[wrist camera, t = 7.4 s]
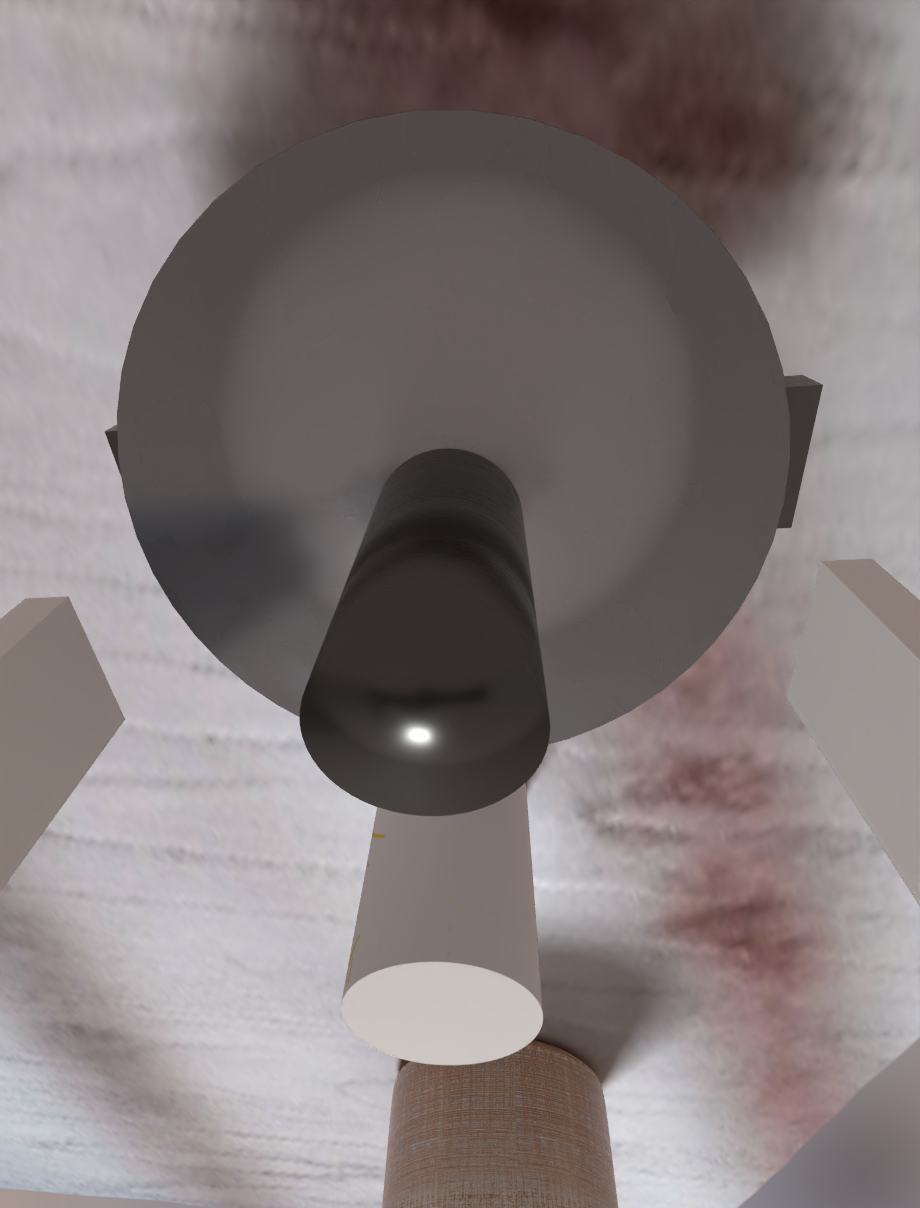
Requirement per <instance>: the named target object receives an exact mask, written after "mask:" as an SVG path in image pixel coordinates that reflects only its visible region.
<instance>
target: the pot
mask: <svg viewBox="0 0 920 1208" xmlns="http://www.w3.org/2000/svg"><path fill="white" fill-rule="evenodd" d="M784 382H785V388H786V395H787V401H788V408H789V414H790V461H789V469H788V476H787V483H786V491H785V498H784V504H783V507H782V511H781V514H780V518H779V521H778V525H777V528H791V526H792V522H793V517H794V513H795V508H796V504H797V499H798V495H799V490H800V486H801V481H802V477H803V472H804V468H805V463H806V459H807V454H808V450H809V445H810V441H811V436H812V432H813V427H814V423H815V418H816V414H817V409H818V405H819V400H820V396H821V391H822V387H823V385H822V384H820V383H818V382H816V381H814V380H812V379H810V378H808V377H806V376H803V375H796V376H784ZM105 434H106V436H107V439H108V442H109V444H110V447H111V450H112V453H113V455H114V458H115V461H116V463H117V466H118V469H119V472H120V474H121V470H120V464H119V459H118V430H117V425H116V426H114V427H112V428H110V429H108V430H107V431H105ZM121 477H122V476H121Z"/></svg>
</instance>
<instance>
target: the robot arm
mask: <svg viewBox="0 0 920 1208" xmlns="http://www.w3.org/2000/svg"><path fill="white" fill-rule="evenodd" d="M787 699H788V700H789V702H790V704H791V705H792V707H793V708H794V710H795V711H796V713H797V715H798V716H799V718H800V719H801V721H802V722H803V724H804V726H805V727H806V729H807V730H808V732H809V733H810V735H811V737H812V738H813V740H814V741H815V743H816V744H817V746H818V748H819V749H820V751H821V752H822V754H823V755H824V757H825V758H826V760H827V762H828V763H829V765H830V766H831V768H832V769H833V771H834V773H835V774H836V776H837V777H838V779H839V780H840V782H841V784H842V785H843V787H844V788H845V790H846V791H847V793H848V795H849V796H850V798H851V799H852V801H853V802H854V804H855V806H856V807H857V809H858V810H859V812H860V813H861V815H862V816H863V818H864V820H865V821H866V823H867V824H868V826H869V827H870V829H871V831H872V832H873V834H874V835H875V837H876V838H877V840H878V842H879V843H880V845H881V846H882V848H883V849H884V851H885V853H886V854H887V856H888V857H889V859H890V860H891V862H892V864H893V865H894V867H895V868H896V870H897V871H898V873H899V875H900V876H901V878H902V879H903V881H904V882H905V884H906V885H907V887H908V889H909V890H910V892H911V893H912V895H913V896H914V898H915V900H916V901H917V903H918V904H919V906H920V600H919V599H918V598H917V597H916V596H914V595H913V594H912V593H911V592H910V591H909V590H907V589H906V588H905V587H904V586H903V585H902V584H900V583H899V582H898V581H897V580H896V579H895V578H894V577H892V576H891V575H890V574H889V573H888V572H887V571H885V570H884V569H883V568H882V567H881V566H880V565H879V564H877V563H876V562H875V561H874V560H873V559H857V560H836V561H821V564H820V568H819V572H818V576H817V580H816V584H815V588H814V592H813V595H812V599H811V603H810V607H809V611H808V615H807V619H806V623H805V627H804V631H803V634H802V638H801V642H800V646H799V650H798V654H797V658H796V662H795V666H794V669H793V673H792V677H791V681H790V685H789V689H788V693H787ZM124 720H125V718H124V716H123V714H122V712H121V709H120V707H119V705H118V703H117V701H116V699H115V696H114V694H113V692H112V690H111V688H110V686H109V684H108V681H107V679H106V677H105V675H104V673H103V671H102V668H101V666H100V664H99V662H98V660H97V658H96V655H95V653H94V651H93V649H92V647H91V645H90V642H89V640H88V638H87V636H86V634H85V632H84V629H83V627H82V625H81V623H80V621H79V619H78V616H77V614H76V612H75V610H74V608H73V606H72V603H71V601H70V599H69V597H51V598H29V599H25V600H23V601H22V602H21V603H20V604H18V605H17V606H16V607H15V608H14V609H12V610H11V611H10V612H9V613H7V614H6V615H5V616H4V617H3V618H1V619H0V891H1V890H2V889H3V887H4V886H5V884H6V883H7V882H8V880H9V879H10V877H11V876H12V875H13V873H14V872H15V871H16V869H17V868H18V866H19V865H20V864H21V862H22V861H23V860H24V858H25V857H26V855H27V854H28V853H29V851H30V850H31V848H32V847H33V846H34V844H35V843H36V842H37V840H38V839H39V837H40V836H41V835H42V833H43V832H44V831H45V829H46V828H47V826H48V825H49V824H50V822H51V821H52V819H53V818H54V817H55V815H56V814H57V813H58V811H59V810H60V808H61V807H62V806H63V804H64V803H65V801H66V800H67V799H68V797H69V796H70V795H71V793H72V792H73V790H74V789H75V788H76V786H77V785H78V784H79V782H80V781H81V779H82V778H83V777H84V775H85V774H86V772H87V771H88V770H89V768H90V767H91V766H92V764H93V763H94V761H95V760H96V759H97V757H98V756H99V755H100V753H101V752H102V750H103V749H104V748H105V746H106V745H107V743H108V742H109V741H110V739H111V738H112V737H113V735H114V734H115V732H116V731H117V730H118V728H119V727H120V726H121V724H122V723H123V721H124Z"/></svg>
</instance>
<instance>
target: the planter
mask: <svg viewBox="0 0 920 1208" xmlns="http://www.w3.org/2000/svg"><path fill="white" fill-rule="evenodd" d="M382 1208H618V1202H617V1194H616V1186H615V1178H614V1169H613V1161H612V1153H611V1145H610V1137H609V1129H608V1121H607V1113H606V1106H605V1100H604V1095H603V1090H602V1086H601V1083H600V1081H599V1079H598V1077H597V1076H596V1074H595V1073H594V1072H593V1071H592V1070H591V1069H590V1068H589V1067H588V1066H587V1065H586V1064H585V1063H584V1062H582V1061H581V1060H580V1059H578V1058H577V1057H575V1056H573V1055H572V1054H570V1053H568V1052H566V1051H564V1050H562V1049H560V1048H558V1047H555V1046H552V1045H549V1044H546V1043H543V1042H539V1041H535V1040H532V1041H531V1042H530V1043H529V1044H528V1045H527V1046H525V1047H524V1048H522V1049H520V1050H519V1051H517V1052H515V1053H513V1054H510V1055H508V1056H505V1057H502V1058H499V1059H496V1060H492V1061H488V1062H483V1063H477V1064H468V1065H433V1064H424V1063H417V1062H412V1061H409V1062H408V1063H407V1064H406V1065H405V1066H404V1067H403V1068H402V1069H401V1070H400V1072H399V1074H398V1075H397V1078H396V1081H395V1086H394V1091H393V1097H392V1106H391V1116H390V1127H389V1137H388V1148H387V1160H386V1171H385V1182H384V1193H383V1204H382Z"/></svg>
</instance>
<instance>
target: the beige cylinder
mask: <svg viewBox="0 0 920 1208" xmlns="http://www.w3.org/2000/svg"><path fill="white" fill-rule="evenodd" d="M341 1015H342V1019H343V1021H344V1023H345V1025H346V1026H347V1028H348V1029H349V1030H350V1032H351V1033H352V1034H353V1035H354V1036H356V1037H357V1038H358V1039H359V1040H360V1041H362V1042H363V1043H365V1044H366V1045H368V1046H370V1047H372V1048H374V1049H376V1050H378V1051H380V1052H382V1053H385V1054H387V1055H390V1056H393V1057H396V1058H400V1059H403V1060H407V1061H412V1062H417V1063H424V1064H433V1065H468V1064H477V1063H483V1062H488V1061H492V1060H496V1059H499V1058H502V1057H505V1056H508V1055H510V1054H513V1053H515V1052H517V1051H519V1050H520V1049H522V1048H524V1047H525V1046H527V1045H528V1044H529V1043H530V1042H531V1041H532V1040H534V1038H535V1037H536V1036H537V1035H538V1033H539V1031H540V1029H541V1027H542V1024H543V1008H542V995H541V981H540V968H539V954H538V941H537V927H536V914H535V900H534V887H533V873H532V860H531V847H530V833H529V820H528V806H527V793H526V783H525V784H523V785H522V786H521V787H520V788H519V789H518V790H516V791H515V792H513V793H512V794H510V795H509V796H507V797H506V798H504V799H502V800H500V801H498V802H496V803H494V804H492V805H489V806H487V807H484V808H481V809H479V810H475V811H471V812H467V813H462V814H456V815H448V816H417V815H408V814H402V813H397V812H392V811H389V810H386V809H382V808H379V807H377V812H376V817H375V823H374V828H373V834H372V839H371V844H370V850H369V855H368V861H367V866H366V872H365V877H364V883H363V888H362V894H361V899H360V905H359V910H358V915H357V921H356V926H355V932H354V937H353V943H352V948H351V954H350V959H349V965H348V970H347V976H346V981H345V987H344V992H343V997H342V1003H341Z"/></svg>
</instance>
